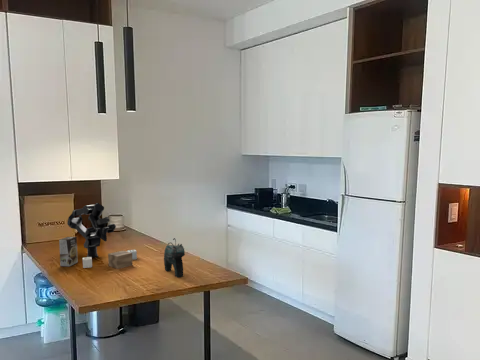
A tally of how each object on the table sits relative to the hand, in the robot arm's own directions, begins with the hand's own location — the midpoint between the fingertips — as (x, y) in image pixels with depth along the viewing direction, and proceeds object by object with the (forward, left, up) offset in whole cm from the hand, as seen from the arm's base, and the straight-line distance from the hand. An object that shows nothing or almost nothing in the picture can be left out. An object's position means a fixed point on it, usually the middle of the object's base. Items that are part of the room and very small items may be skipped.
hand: (106, 240), depth 271 cm
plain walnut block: (+14, +7, -13) cm, 20 cm away
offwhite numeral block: (+8, -12, -13) cm, 19 cm away
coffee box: (-2, -22, -13) cm, 25 cm away
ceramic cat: (+45, +31, -13) cm, 56 cm away
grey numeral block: (+1, +14, -13) cm, 19 cm away
